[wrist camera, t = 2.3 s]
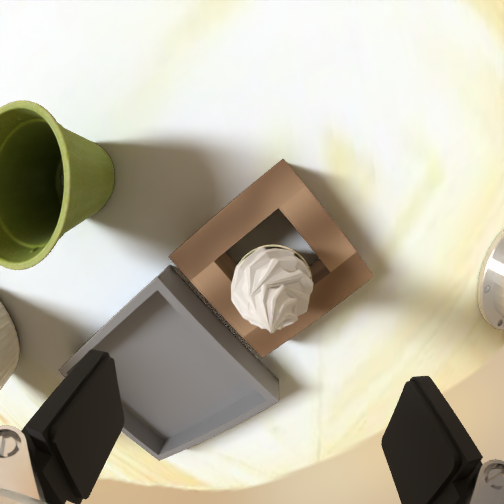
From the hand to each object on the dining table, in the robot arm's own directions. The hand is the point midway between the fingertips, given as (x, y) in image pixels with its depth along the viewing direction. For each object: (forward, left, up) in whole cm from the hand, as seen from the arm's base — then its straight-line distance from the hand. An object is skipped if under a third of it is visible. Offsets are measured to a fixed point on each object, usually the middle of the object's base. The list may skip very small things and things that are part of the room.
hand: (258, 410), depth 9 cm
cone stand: (0, 0, -20) cm, 20 cm away
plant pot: (+17, +9, -20) cm, 28 cm away
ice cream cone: (0, 0, -20) cm, 20 cm away
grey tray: (-3, +17, -20) cm, 26 cm away
